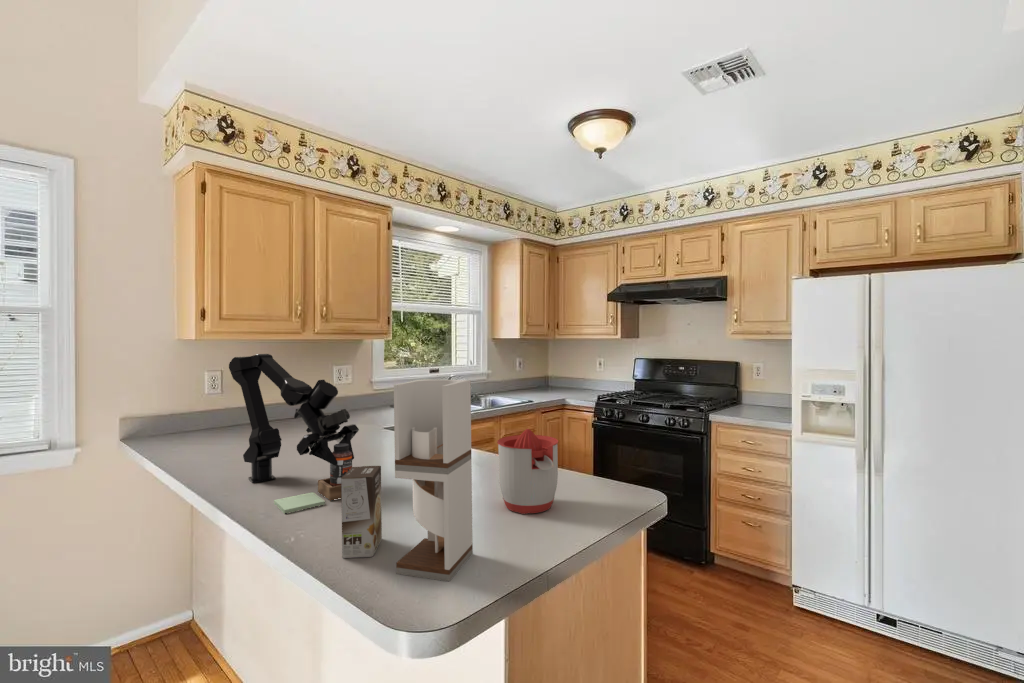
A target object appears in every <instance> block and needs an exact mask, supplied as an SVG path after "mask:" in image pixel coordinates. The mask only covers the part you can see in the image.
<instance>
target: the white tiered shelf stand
mask: <svg viewBox="0 0 1024 683" xmlns="http://www.w3.org/2000/svg"><path fill="white" fill-rule="evenodd" d="M471 385H472V384H471V379H434V378H433V379H427V378H426V379H416V380H412V381H407V382H401V383H396V384H393V425H394V430H393V431H394V438H393V439H394V478H395V479H405V480H412V514H413V517H414V518H415V521H416V522H417V523H418V524H419V526H421V527H423V528H424V529H425V530H426V531H427V538H424V537H423V539H422V540H421V541H420V542H418V543H417V544H416V545H415V546H413V547H412V548H411V549H410V550H409V551H408V552H407V553H406V554H405V555H403V557H401V558H400V559H399V560H398V561H397V562H396V564H395V565H396V571H395V572H396V575H403V576H408V577H409V576H410V577H417V578H422V579H423V578H424V579H431V580H437V581H443V582H444V581H445V582H450V581H451V580H452V579H453V578H454V577H455V575H456V574H457V573H458V572H459V571H460V570H461V569H462V567H463V566H464V565H465V564H466V563H467V561H468V560H469V559H470V558H471V556H472V555H473V554H474V552H473V551H474V550H473V549H474V548H473V544H474V543H473V541H474V540H473V539H474V538H473V483H472V482H473V481H472V480H473V479H472V478H473V477H472V475H473V474H472V472H473V470H472V469H473V468H472V467H473V466H472V402H471V401H472V399H471V394H472V392H471V388H472V387H471Z"/></svg>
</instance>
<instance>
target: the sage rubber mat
mask: <svg viewBox="0 0 1024 683" xmlns="http://www.w3.org/2000/svg"><path fill="white" fill-rule="evenodd" d="M273 504H274V506H276V505H277V506H276V507H277V508H278V509H279V510H280V512H282V513H283V514H284V515H286V514H285V513H287V514H290V513H289V512H292V513H296V512H299V511H298V510H301V511H303V510H302V509H305V510H307V509H306V508H310V509H312V508H311V507H314V508H316V507H315V506H318V507H320V506H319V505H323V506H325V505H326V500H324V499H323V498H322V497H320V496H319V495H318V494H316V493H315V492H313V491H312V492H307V493H302V494H298V495H293V496H287V497H283V498H278V499H274V500H273ZM324 504H325V505H324ZM295 511H296V512H295Z"/></svg>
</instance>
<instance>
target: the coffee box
mask: <svg viewBox="0 0 1024 683" xmlns="http://www.w3.org/2000/svg"><path fill="white" fill-rule="evenodd" d="M341 488H342V491H341V492H342V499H341V558H342V559H353V558H372V557H374V555H375V553H376V552H377V550H378V547H379V545H380V543H381V542H382V539H383V538H382V537H383V536H382V535H383V534H382V532H383V529H382V528H383V526H382V524H383V523H382V519H383V518H382V466H381V465H363V466H361V465H360V466H352V468H351V469H350V470H349V471H348V472H347V473H346V474H345V475H344V476H343V477H342V478H341Z"/></svg>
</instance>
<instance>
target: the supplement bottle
mask: <svg viewBox="0 0 1024 683" xmlns="http://www.w3.org/2000/svg"><path fill="white" fill-rule="evenodd" d="M331 452H332V453H333V455H334V457H335V458H336V460H337V462H338V464H337V465H333V464H331V463H329V478H330V485H331V486H338V485H341V478H342V477H343V476H344V475H345V474H346V473H347V472H348V471H349V470H350V469H351V468H352V467H353V460H352V453H351V452H350V451H349V445H348V444H346V443H341V444H338V443H335V444H334V445H333V451H331Z"/></svg>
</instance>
